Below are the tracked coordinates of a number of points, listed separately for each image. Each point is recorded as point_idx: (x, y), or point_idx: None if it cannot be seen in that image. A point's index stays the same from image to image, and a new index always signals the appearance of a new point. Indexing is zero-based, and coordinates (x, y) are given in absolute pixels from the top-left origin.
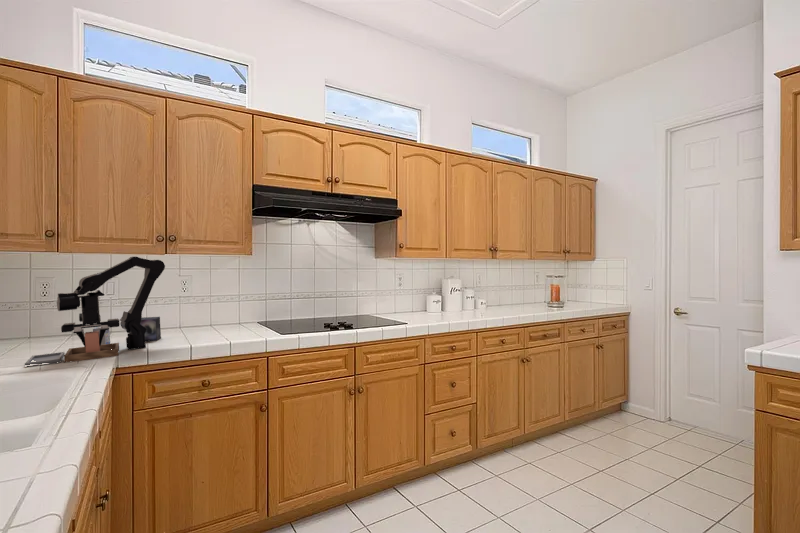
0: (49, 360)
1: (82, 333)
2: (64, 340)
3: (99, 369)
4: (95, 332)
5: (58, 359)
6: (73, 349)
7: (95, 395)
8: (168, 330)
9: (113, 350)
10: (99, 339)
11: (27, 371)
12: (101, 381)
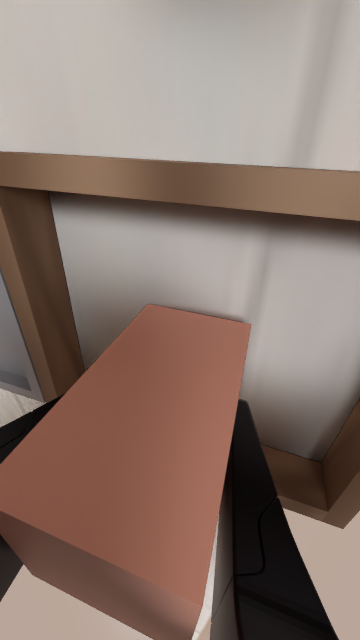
0: (11, 390)
1: (8, 587)
2: None
3: (210, 565)
4: (146, 629)
5: (42, 399)
6: (15, 187)
7: (194, 635)
8: None
9: (310, 510)
10: (221, 507)
11: (4, 420)
12: (206, 615)
